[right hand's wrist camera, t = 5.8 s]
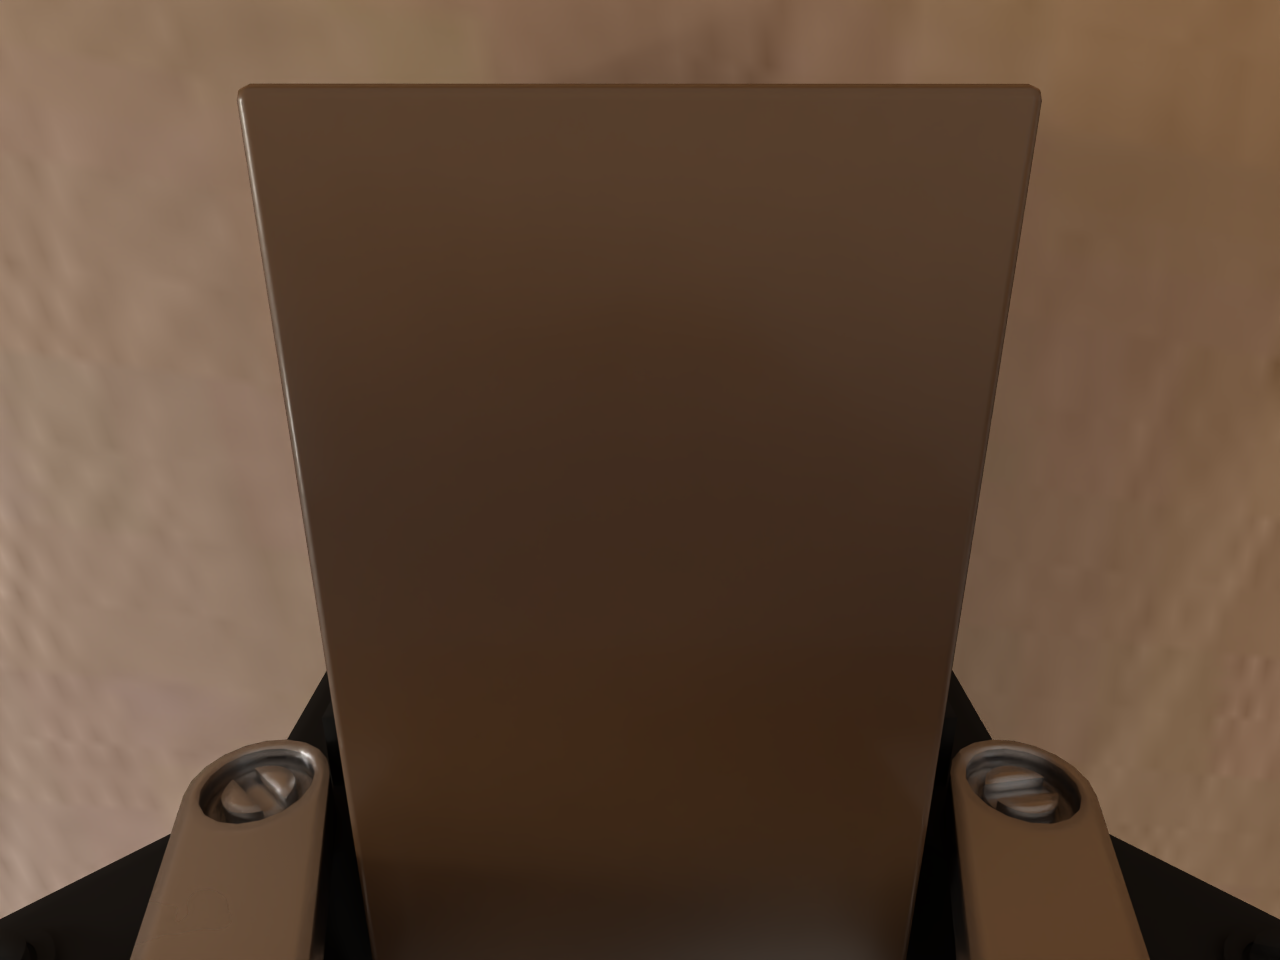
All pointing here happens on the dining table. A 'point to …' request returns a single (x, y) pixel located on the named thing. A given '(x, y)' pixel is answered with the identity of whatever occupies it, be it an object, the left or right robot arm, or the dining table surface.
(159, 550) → the dining table surface
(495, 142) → the beam
